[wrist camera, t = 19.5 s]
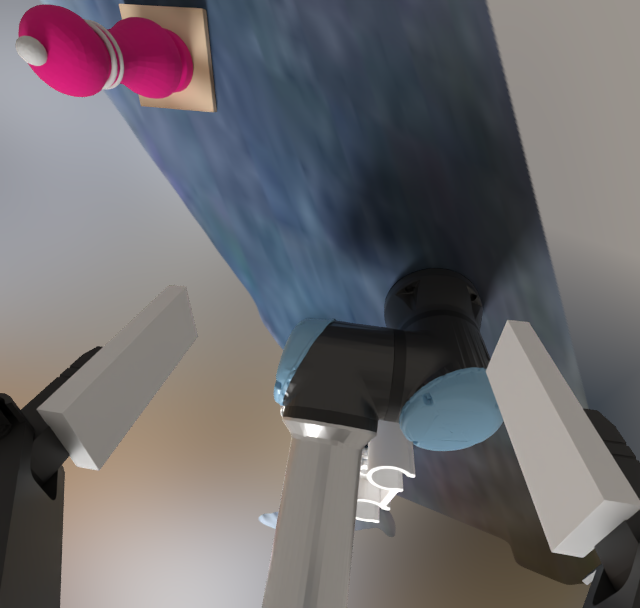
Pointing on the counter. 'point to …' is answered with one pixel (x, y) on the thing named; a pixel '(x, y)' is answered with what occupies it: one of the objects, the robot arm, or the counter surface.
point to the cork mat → (196, 37)
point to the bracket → (383, 470)
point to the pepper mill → (103, 54)
